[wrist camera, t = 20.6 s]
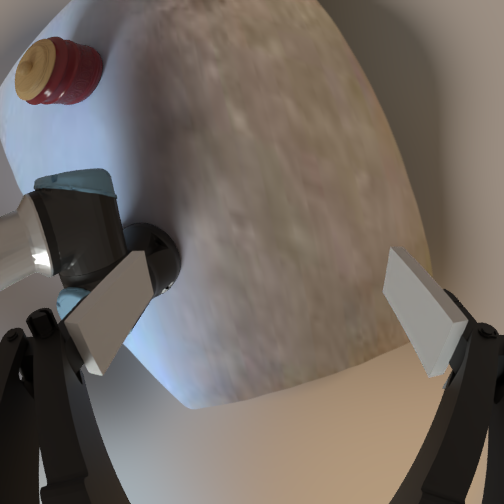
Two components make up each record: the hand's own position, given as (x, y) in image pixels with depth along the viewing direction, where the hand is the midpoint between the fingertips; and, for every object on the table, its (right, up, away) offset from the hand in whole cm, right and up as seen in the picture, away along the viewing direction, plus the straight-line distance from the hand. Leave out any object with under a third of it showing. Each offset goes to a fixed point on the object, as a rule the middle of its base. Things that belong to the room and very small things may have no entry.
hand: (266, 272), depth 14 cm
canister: (-36, +37, +25) cm, 57 cm away
